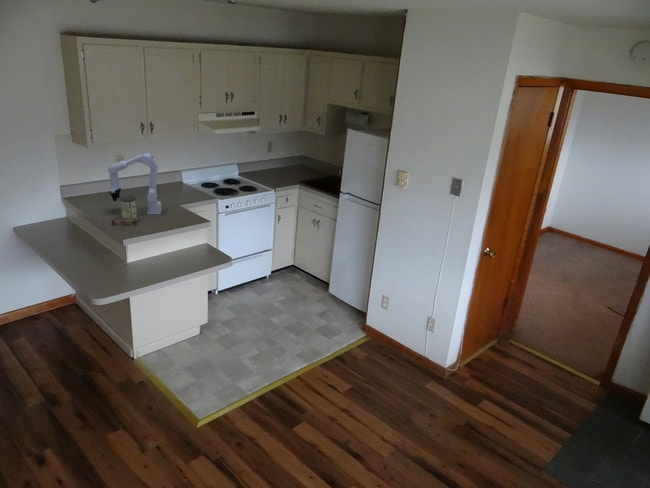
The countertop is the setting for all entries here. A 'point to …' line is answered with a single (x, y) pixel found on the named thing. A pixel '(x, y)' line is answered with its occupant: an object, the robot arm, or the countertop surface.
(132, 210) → the coffee can
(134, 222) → the can dock
